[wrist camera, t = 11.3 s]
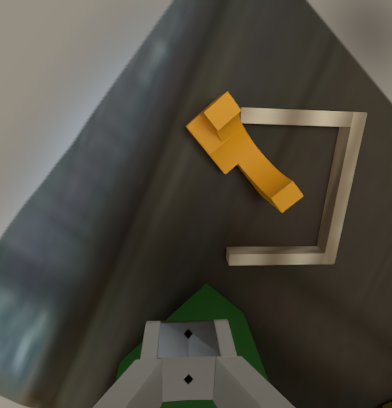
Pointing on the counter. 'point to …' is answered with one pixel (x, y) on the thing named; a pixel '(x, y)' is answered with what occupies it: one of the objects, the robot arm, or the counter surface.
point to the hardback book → (208, 310)
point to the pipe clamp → (240, 151)
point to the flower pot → (387, 405)
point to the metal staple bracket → (336, 191)
